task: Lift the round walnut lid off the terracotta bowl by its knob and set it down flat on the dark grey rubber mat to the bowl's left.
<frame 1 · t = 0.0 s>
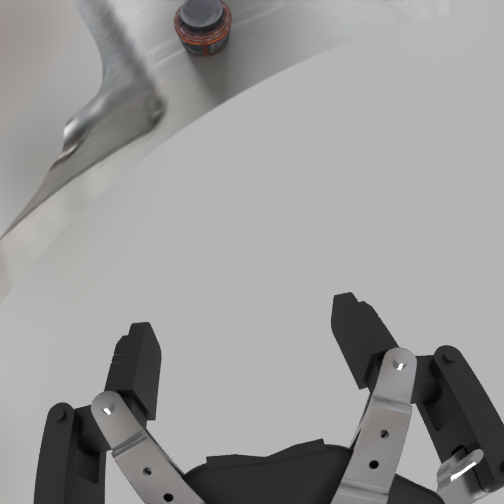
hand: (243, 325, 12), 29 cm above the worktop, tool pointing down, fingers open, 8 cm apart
supplement bottle: (205, 37, 28), on the worktop
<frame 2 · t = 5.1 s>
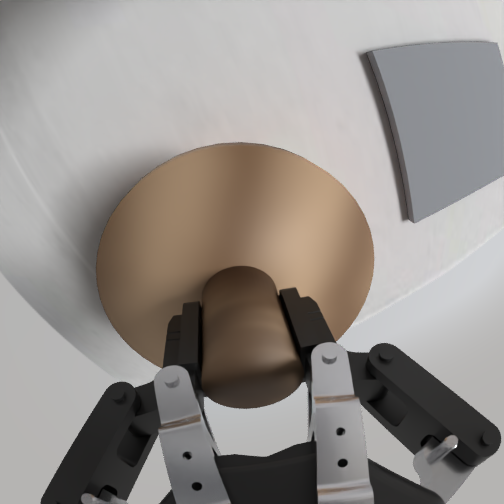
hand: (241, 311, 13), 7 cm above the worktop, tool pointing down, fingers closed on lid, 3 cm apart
lid: (237, 283, 15), point 5 cm above the worktop, touching bowl, gripper
mat: (463, 118, 16), on the worktop
when the fingers open (5 cm above the worktop, at t = 12.1 s): lid drops 2 cm, resting on mat.
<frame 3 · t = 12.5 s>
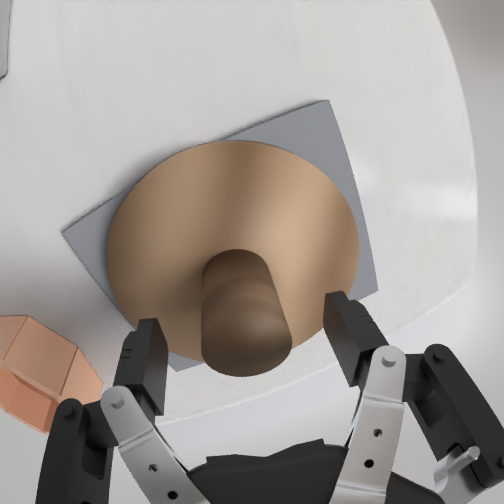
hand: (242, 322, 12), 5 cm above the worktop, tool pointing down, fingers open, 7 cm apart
bowl: (42, 364, 20), on the worktop
lid: (234, 267, 16), point 1 cm above the worktop, touching mat
mat: (233, 259, 17), on the worktop
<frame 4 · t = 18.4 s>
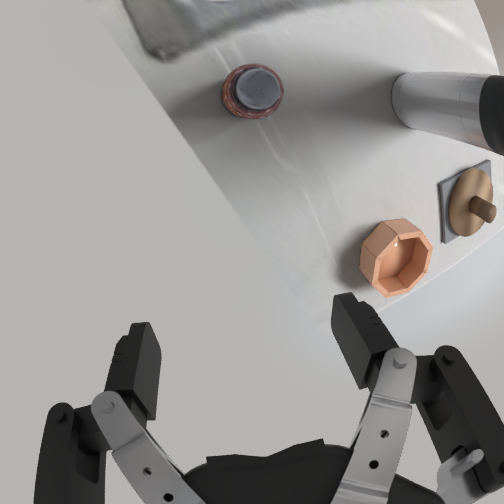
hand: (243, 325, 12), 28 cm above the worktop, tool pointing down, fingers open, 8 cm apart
supplement bottle: (244, 95, 32), on the worktop
bowl: (389, 251, 46), on the worktop
lid: (470, 201, 43), point 1 cm above the worktop, touching mat
mat: (467, 200, 43), on the worktop
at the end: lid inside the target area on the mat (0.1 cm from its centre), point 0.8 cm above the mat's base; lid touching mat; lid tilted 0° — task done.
